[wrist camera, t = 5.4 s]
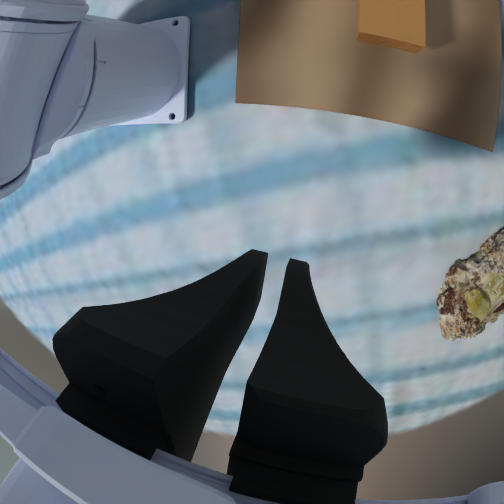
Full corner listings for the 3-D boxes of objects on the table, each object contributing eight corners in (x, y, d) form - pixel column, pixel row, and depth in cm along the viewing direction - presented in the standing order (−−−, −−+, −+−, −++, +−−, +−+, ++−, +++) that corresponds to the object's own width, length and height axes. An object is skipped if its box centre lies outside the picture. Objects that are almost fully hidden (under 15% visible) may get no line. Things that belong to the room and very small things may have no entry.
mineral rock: (482, 356, 20) (431, 351, 18) (463, 324, 23) (411, 312, 22) (554, 260, 14) (520, 228, 13) (525, 233, 18) (482, 198, 16)
